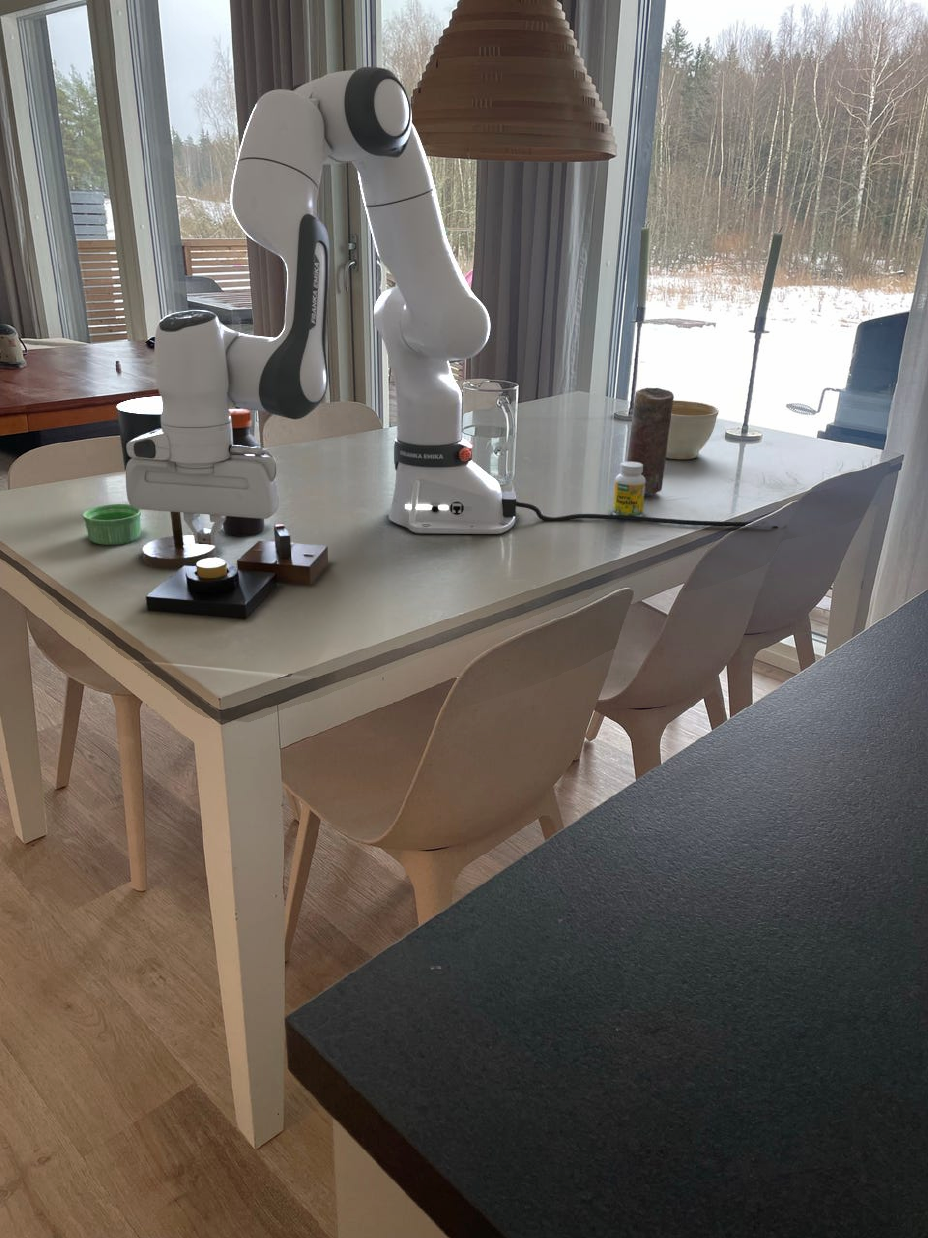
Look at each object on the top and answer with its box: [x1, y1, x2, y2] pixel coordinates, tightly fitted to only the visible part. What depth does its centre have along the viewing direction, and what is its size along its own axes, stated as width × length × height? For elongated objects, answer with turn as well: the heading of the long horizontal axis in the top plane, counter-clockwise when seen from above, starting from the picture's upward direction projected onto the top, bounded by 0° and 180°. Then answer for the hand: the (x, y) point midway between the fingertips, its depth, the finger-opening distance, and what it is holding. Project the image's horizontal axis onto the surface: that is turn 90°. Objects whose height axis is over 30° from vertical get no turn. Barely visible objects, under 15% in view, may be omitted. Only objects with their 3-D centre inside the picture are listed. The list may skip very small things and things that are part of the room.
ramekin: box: [82, 503, 142, 546], centre depth 151 cm, size 9×9×4 cm
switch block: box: [145, 563, 278, 621], centre depth 129 cm, size 14×12×4 cm
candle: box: [626, 387, 675, 497], centre depth 178 cm, size 8×7×20 cm
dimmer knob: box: [273, 523, 292, 559], centre depth 138 cm, size 5×2×4 cm, turn 21°
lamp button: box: [196, 557, 227, 578], centre depth 128 cm, size 4×4×2 cm
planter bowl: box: [666, 399, 720, 461], centre depth 209 cm, size 16×16×11 cm
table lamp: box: [115, 396, 217, 569], centre depth 140 cm, size 13×13×24 cm
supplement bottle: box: [612, 461, 646, 517], centre depth 167 cm, size 5×5×10 cm
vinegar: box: [222, 408, 266, 537], centre depth 153 cm, size 7×7×20 cm
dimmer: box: [236, 540, 329, 586], centre depth 139 cm, size 11×9×3 cm
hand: (207, 543), depth 126 cm, fingers closed
